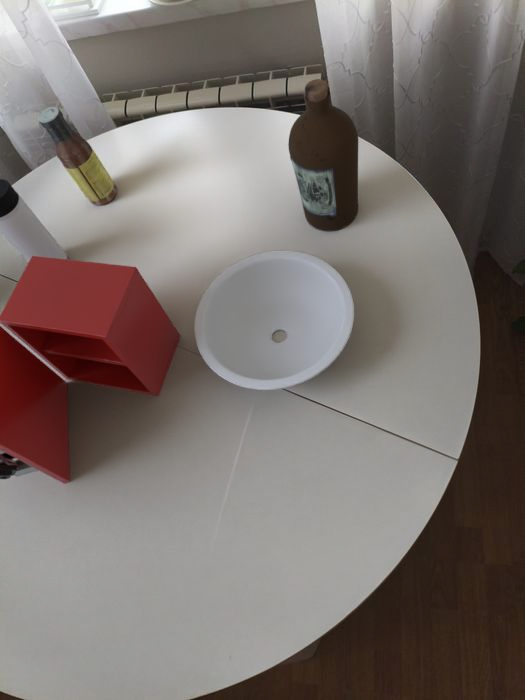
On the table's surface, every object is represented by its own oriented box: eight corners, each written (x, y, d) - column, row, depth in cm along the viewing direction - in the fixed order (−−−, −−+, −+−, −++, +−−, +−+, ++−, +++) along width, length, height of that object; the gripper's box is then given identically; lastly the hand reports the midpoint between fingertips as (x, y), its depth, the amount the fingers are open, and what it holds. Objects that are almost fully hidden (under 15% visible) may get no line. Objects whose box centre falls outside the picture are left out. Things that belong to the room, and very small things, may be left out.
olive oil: (319, 182, 101) (301, 55, 80) (372, 197, 97) (368, 68, 76) (290, 224, 98) (263, 103, 76) (344, 242, 94) (332, 120, 72)
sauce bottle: (117, 180, 112) (69, 95, 95) (118, 202, 109) (68, 119, 92) (87, 189, 113) (33, 106, 96) (87, 211, 110) (32, 129, 93)
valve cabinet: (158, 396, 87) (105, 336, 70) (66, 379, 91) (-3, 320, 75) (181, 336, 91) (136, 266, 75) (92, 323, 96) (32, 255, 80)
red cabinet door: (29, 492, 83) (-57, 454, 67) (31, 392, 91) (-45, 337, 75) (70, 481, 82) (-7, 440, 66) (67, 382, 91) (-2, 324, 75)
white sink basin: (252, 257, 96) (244, 232, 90) (382, 302, 87) (381, 277, 81) (178, 370, 88) (163, 351, 82) (311, 433, 79) (306, 416, 73)
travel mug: (42, 286, 102) (-27, 211, 85) (35, 261, 106) (-32, 185, 89) (73, 271, 103) (10, 194, 86) (65, 247, 106) (3, 169, 89)
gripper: (-144, 501, 62) (20, 501, 71) (-123, 392, 69) (24, 406, 78) (-147, 521, 67) (7, 519, 77) (-127, 418, 74) (12, 428, 83)
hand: (15, 462), depth 77 cm, fingers closed on red cabinet door, 2 cm apart
